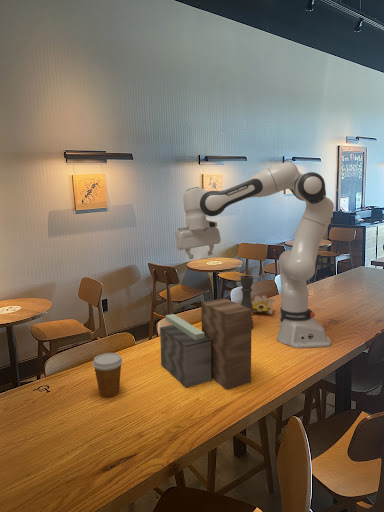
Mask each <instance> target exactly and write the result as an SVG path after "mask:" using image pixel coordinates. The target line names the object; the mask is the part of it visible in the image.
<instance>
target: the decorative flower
mask: <svg viewBox="0 0 384 512" xmlns="http://www.w3.org/2000/svg"><path fill="white" fill-rule="evenodd" d="M251 302H252V306H253V311H252V314H253V313H254V314H255V313H259V314H262V313H266V314H267V315H271V314H273V311H274V310H273V309H272V308H274V305H273V304H274V303H275V302H276V299H273V298H268V297H267V295H262V296H260V295H255V296H254V297H253V300H251Z"/></svg>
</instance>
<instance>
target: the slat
mask: <svg viewBox="0 0 384 512" xmlns="http://www.w3.org/2000/svg"><path fill="white" fill-rule="evenodd" d="M165 322H168V323H169V325H173V326H175V327H176V328H178V329H179V330H181V331H182V332H184V333H185V334H187V335H188V336H190V337H191V338H193V339H194V340H199V339H204V338H205V336H204V332H202V329H199V328H197V327H196V326H194V325H192V324H191V323H189V322H188V321H186V320H184V319H182V318H180V317H179V316H177V315H176V314H174V313H171V314H166V315H165Z"/></svg>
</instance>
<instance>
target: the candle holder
mask: <svg viewBox="0 0 384 512" xmlns="http://www.w3.org/2000/svg"><path fill="white" fill-rule="evenodd" d="M253 284H254V277H253V276H252V275H245V274H244V275H241V276H240V286H241V287H242V288H241V289H240V291H241V293H242V298H241V303H240V305H242V306H245V307H247V308H249V309H252V311H253V306H252V302H251V301H252V297H251V293H252V292H253V288H252V286H253ZM253 329H254V320H253V317H252V330H253Z"/></svg>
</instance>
